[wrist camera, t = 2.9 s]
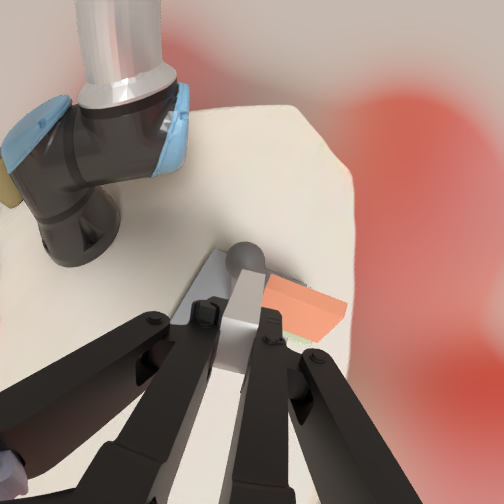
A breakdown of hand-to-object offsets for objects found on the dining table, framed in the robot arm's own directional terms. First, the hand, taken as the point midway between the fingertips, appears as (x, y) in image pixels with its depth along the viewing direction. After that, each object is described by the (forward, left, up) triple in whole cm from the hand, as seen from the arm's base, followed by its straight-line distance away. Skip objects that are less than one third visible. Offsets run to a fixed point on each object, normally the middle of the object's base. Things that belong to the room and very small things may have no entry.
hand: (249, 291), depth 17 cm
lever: (-3, +4, -16) cm, 17 cm away
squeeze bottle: (-34, -49, -18) cm, 62 cm away
